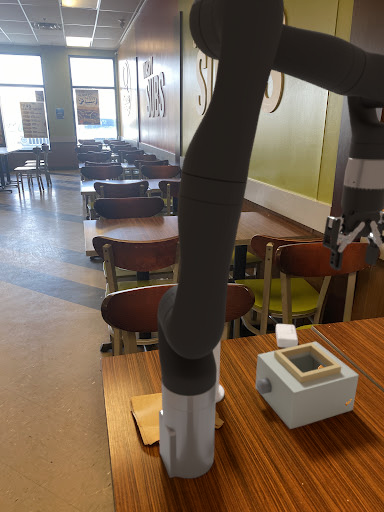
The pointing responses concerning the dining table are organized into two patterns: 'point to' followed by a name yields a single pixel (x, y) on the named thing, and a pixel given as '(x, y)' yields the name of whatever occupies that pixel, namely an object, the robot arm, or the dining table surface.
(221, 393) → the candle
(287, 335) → the soap
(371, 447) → the dining table surface
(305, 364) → the box
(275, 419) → the dining table surface
